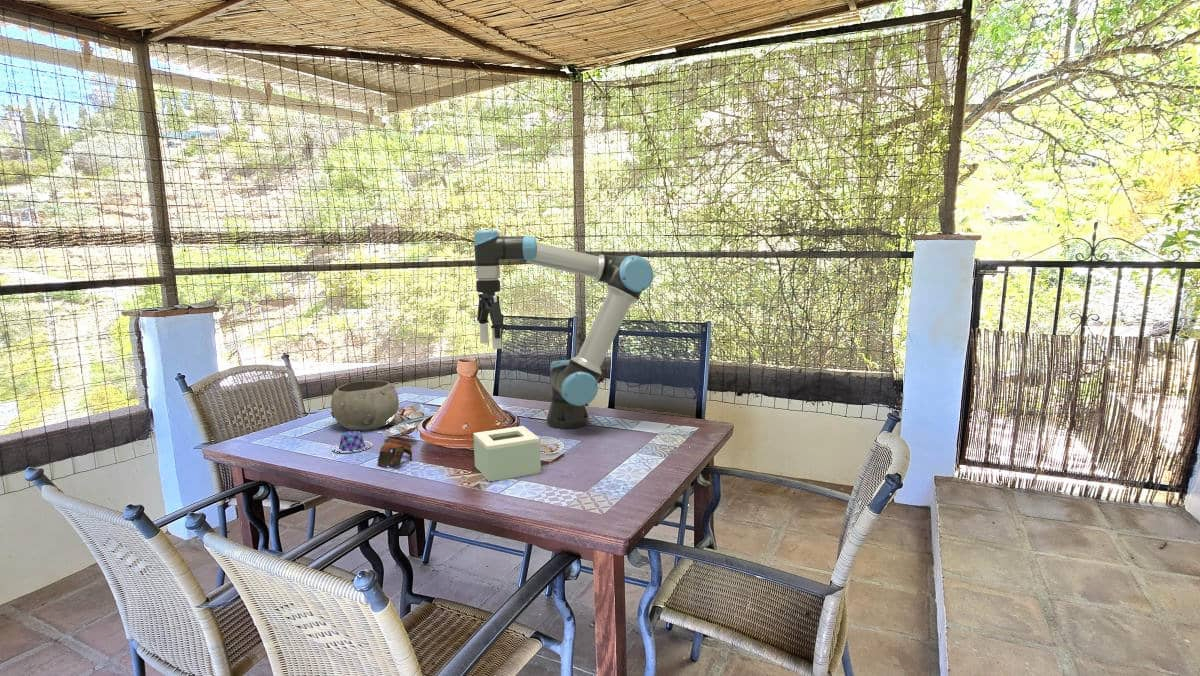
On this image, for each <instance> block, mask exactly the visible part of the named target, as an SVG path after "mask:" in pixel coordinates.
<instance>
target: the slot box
mask: <svg viewBox="0 0 1200 676" xmlns="http://www.w3.org/2000/svg"><path fill="white" fill-rule="evenodd" d="M472 434H473V450H474V451H473V453H474V455H473V457H474V468H476V470H477V471H478V470H479V471H480V472H481V473H480V472H479V471H478V472H479V473H480V474H481V475H482V476H483V478H484V477H485V478H486V479H487V480H488V481H487V480H486V479H485V478H484V479H485V480H486V481H487V483H490V482H489V481H493V482H496V481H495V480H499V481H503V480H502V479H504V480H509V479H508V478H510V479H515V478H519V477H520V476H521V477H525V476H530V475H536V474H537V475H538V474H541V473H542V471H541V470H542V467H541V466H542V465H541V438H540V437H539V436H537V435H536V434H534V433H533V432H532V431H530V430H529V429H528V428H527V427H525V426H524V425H520V426H513V427H506V428H499V429H494V430H493V429H492V430H484V431H478V432H473V433H472ZM514 477H515V478H514Z"/></svg>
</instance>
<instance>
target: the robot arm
mask: <svg viewBox="0 0 1200 676" xmlns="http://www.w3.org/2000/svg"><path fill="white" fill-rule="evenodd" d="M473 239H474V244H473V246H474V263H475V268H474V269H473V272H474V273H475V278H476V279H477V280H476V281H475V287H476V289H475V290H476V292H477V293H479V294H478V306H477V317H476V320H477V321H478V323H479V324H478V325H479V343H480V344H482V345H483V344H489V343H490V339H489V337H490V336H489V323H490V322H491V326H490V329H491V341H492V344H491V345H492V350H500V349H502V343H503V342H502V327H504V320H503V315H502V310H501V309H502V308H501V305H500V296H499V295H496V293H499V292H501V281H500V279H501V266H500V261H516V262H519V263H524V264H530V265H533V266H538V267H539V266H540V267H544V268H550V269H554V270H558V271H562V272H567V273H572V274H577V275H581V276H585V277H591V278H593V279H594V280H595V282H602V283H605V284H606V287H607V288H606V289H607V291H608V292H607V295H606V297H605V299H604V301H603V302H602V305H601V307H600V308H599V311H598V313H597V315H596V318H595V319H594V321H593V323H592V325H591V327H590V328H589V331H588V333H587V336H586V337H585V339H584V341H583V343H582V345H581V348H580V349H579V352H578V354H577V355H576V356H574V357H571V358H570V359H561V360H553V361H552V362H550V369H549V371H550V396H551V397H550V401H551V402H550V406H549V407H548V408H549V409H548V411H547V415H546V424H547V425H548V426H550V427H552V428H558V429H573V428H574V429H575V428H580V427H585V426H586V425H588V424H589V422H590V421H589V413H588V410H587V408H586V405H588V404H590V403H591V402H592V401H593V400H595V398H596V396H597V394H598V390H599V386H598V385H599V380H600V378H601V376H602V370H601V367H602V364H603V362H604V360H605V358H606V355H607V353H608V351H609V350H610V347H611V345H612V343H613V342H614V339H615V338H616V335H617V334H618V331H619V329H620V327H621V325H622V324H623V321H624V319H625V317H626V315H627V313H628V311H629V308H630V307H631V305H632V304H634V303H636V302H638V301H639V299H640V297H641V294H643V292H644V291H645V290H647V289H648V288H649V287H650V286H651V285H652V282H653V279H654V270H653V267H652V265H651V263H650V262H649V261H648V260H647V259H646V258H645V257H643V256H639V255H633V254H632V255H606V254H599V255H595V254H589V253H585V252H580V251H576V250H572V249H567V248H562V247H558V246H553V245H549V244H544V243H540V242H537V239H536V237H535V236H529V235H528V236H527V235H523V236H522V235H519V236H518V235H516V236H501V235H499V231H498V230H497V229H481V230H478V229H477V230H476V231H475V232H474V238H473ZM489 317H490V322H489Z"/></svg>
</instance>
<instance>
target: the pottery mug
mask: <svg viewBox="0 0 1200 676" xmlns="http://www.w3.org/2000/svg"><path fill="white" fill-rule="evenodd" d="M412 447H413V446H412V444H409V443H407V442H405V441H402V440H398V439H395V438H394V439H393V438H388V439H387V441H386V442H385V443H384V444H382V446H381V448H380V451H379V453H378V454H379V455H378V458H377V464H378V465H377V466H381V467H384V466H390V467H391V463H392V464H393V465H394V466H396V465H400V464H401V461H402V458H403V455H404V454H405V453H406V454H407V455H408V456H409V458H410V459H411V460H412V457H413V450H412ZM391 450H392V451H391Z"/></svg>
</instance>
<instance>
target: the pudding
mask: <svg viewBox="0 0 1200 676" xmlns="http://www.w3.org/2000/svg"><path fill="white" fill-rule="evenodd" d="M364 442H368V443H370V444H371V446H370V447H368V448H367V449H369V448H371V447H372V446H373V443H372V442H370V441H367V440H364V437H363V434H362V431H353V430H349V431H344V432H343V433H342V434H341V436H340V440H339V444H336V445H335V446H337V445H339V449H341V450H342V451H347V450H348V451H353V450H359V449H362V448H363V447H365V446H366V445H365V443H364ZM335 446H333V447H332V448H331V450H332V452H335V453H337V452H336V451H334V450H333V448H334V447H335ZM366 447H367V446H366ZM339 449H338V450H339ZM363 449H364V450H360V451H359V452H361V451H365V450H366V449H365V448H363ZM357 452H358V451H354V453H357ZM341 453H343V454H345V453H346V454H348V453H351V452H340V454H341Z"/></svg>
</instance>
